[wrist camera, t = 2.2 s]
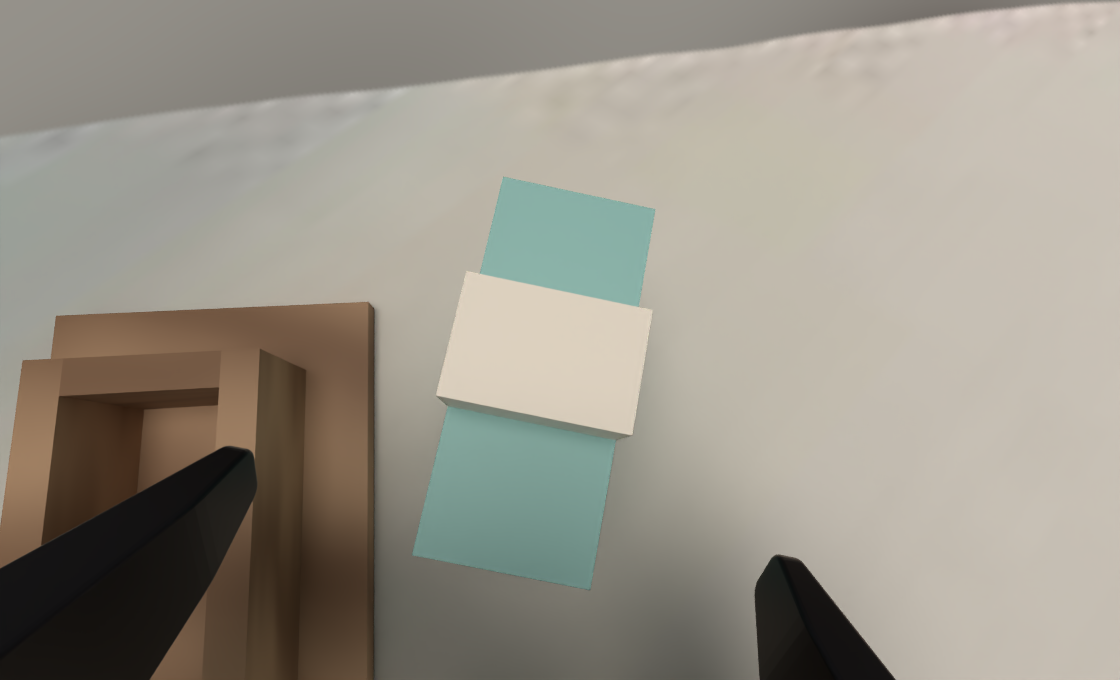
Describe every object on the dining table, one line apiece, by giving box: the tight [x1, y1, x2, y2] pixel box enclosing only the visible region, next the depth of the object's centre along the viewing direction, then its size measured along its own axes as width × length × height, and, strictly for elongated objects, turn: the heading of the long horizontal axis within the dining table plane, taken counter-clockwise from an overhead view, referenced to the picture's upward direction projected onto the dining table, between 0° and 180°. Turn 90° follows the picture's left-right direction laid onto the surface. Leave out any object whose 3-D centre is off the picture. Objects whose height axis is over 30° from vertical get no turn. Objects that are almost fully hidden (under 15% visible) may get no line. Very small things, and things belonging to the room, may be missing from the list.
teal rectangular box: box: [412, 177, 655, 590], centre depth 14 cm, size 7×3×12 cm, turn 169°
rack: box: [0, 302, 374, 680], centre depth 16 cm, size 16×10×4 cm, turn 4°
